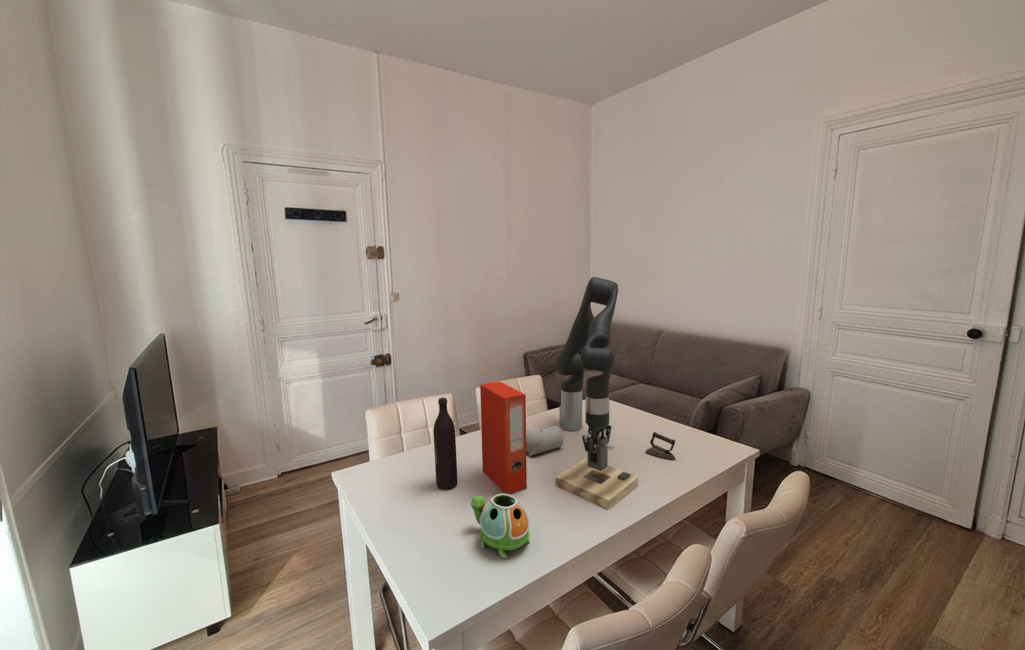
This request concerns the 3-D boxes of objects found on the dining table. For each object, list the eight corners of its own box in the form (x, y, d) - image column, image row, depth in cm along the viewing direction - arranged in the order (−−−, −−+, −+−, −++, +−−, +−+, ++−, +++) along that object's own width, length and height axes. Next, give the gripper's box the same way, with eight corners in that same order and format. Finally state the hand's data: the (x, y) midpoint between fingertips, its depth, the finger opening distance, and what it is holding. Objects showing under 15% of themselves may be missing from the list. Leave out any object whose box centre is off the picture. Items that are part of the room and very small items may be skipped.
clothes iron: (653, 448, 161) (660, 426, 159) (678, 464, 153) (686, 442, 151) (643, 452, 157) (650, 429, 155) (668, 469, 149) (676, 446, 147)
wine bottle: (449, 477, 142) (445, 393, 138) (462, 484, 137) (457, 398, 133) (432, 485, 138) (427, 399, 133) (444, 493, 132) (439, 404, 128)
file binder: (502, 466, 149) (500, 381, 144) (527, 488, 134) (525, 394, 129) (482, 472, 145) (479, 384, 140) (505, 495, 130) (502, 398, 126)
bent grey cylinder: (522, 462, 149) (567, 449, 159) (518, 433, 150) (563, 421, 160) (501, 454, 165) (542, 442, 175) (497, 427, 165) (539, 417, 175)
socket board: (555, 485, 136) (555, 474, 135) (586, 465, 148) (586, 455, 148) (608, 509, 122) (608, 497, 121) (638, 485, 134) (638, 474, 134)
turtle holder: (490, 514, 121) (488, 476, 119) (539, 540, 109) (538, 498, 107) (458, 536, 111) (456, 495, 110) (508, 566, 100) (507, 521, 98)
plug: (587, 466, 134) (587, 437, 133) (594, 461, 137) (594, 433, 136) (609, 474, 129) (609, 444, 127) (615, 469, 131) (616, 439, 130)
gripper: (599, 401, 139) (599, 449, 141) (574, 412, 129) (574, 464, 131) (619, 406, 134) (618, 455, 136) (595, 418, 124) (594, 472, 126)
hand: (597, 459), depth 134 cm, fingers closed on plug, 4 cm apart
